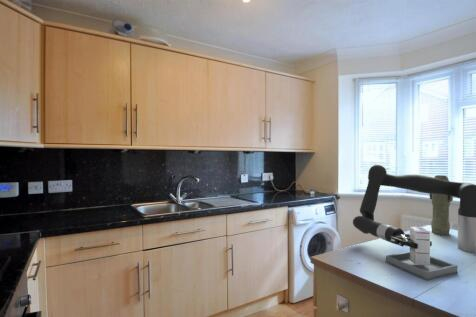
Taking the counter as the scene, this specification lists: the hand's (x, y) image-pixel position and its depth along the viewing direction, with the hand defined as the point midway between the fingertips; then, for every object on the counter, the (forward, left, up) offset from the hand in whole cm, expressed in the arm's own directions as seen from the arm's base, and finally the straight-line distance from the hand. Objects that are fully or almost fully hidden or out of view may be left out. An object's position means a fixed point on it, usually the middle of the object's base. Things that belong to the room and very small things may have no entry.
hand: (424, 245), depth 111 cm
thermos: (-60, -32, -10) cm, 68 cm away
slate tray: (0, -2, -10) cm, 10 cm away
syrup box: (0, -2, -8) cm, 8 cm away
